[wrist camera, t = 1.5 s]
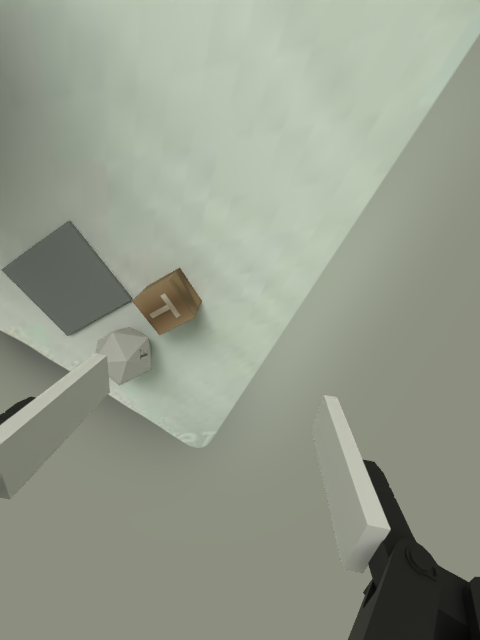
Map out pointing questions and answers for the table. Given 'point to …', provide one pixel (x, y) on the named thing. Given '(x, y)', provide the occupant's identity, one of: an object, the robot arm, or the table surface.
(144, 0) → the table surface
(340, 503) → the robot arm
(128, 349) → the die
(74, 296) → the grey mat
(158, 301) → the letter block
